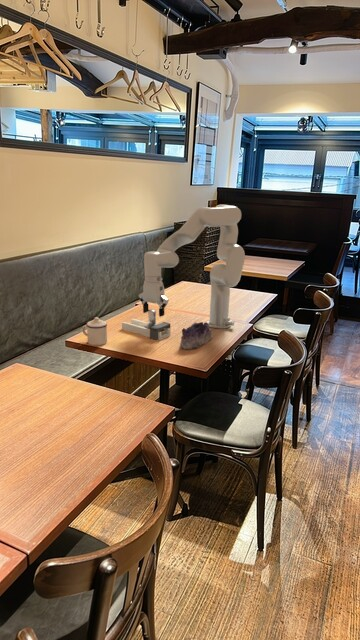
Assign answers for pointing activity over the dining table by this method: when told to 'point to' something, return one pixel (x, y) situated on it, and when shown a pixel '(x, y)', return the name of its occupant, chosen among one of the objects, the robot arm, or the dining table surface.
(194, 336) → the geode
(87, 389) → the dining table surface
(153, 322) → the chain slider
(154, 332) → the track
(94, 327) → the teacup with lid
